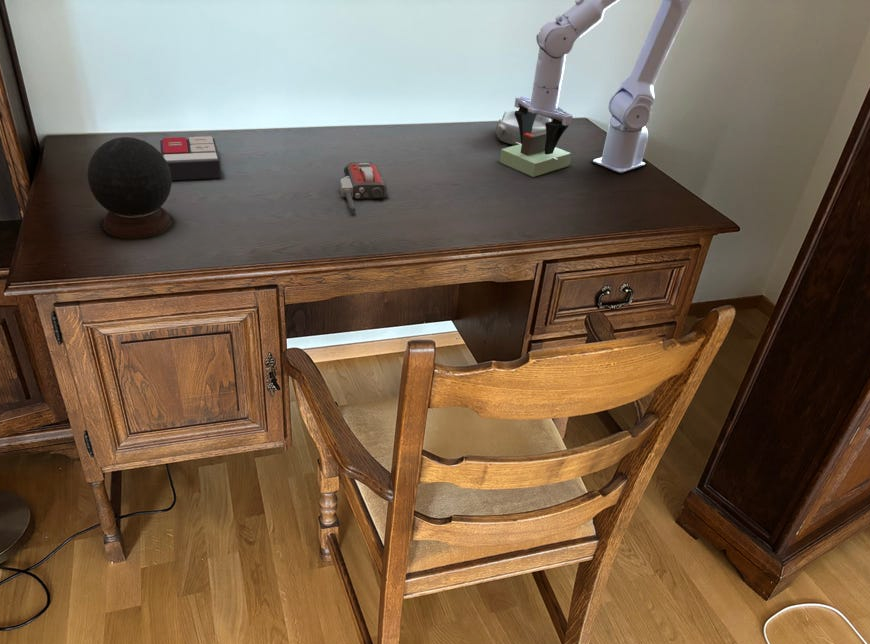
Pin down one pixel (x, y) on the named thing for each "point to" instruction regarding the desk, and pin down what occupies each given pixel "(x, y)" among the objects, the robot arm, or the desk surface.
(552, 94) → the robot arm
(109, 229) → the ball on wooden base
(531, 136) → the brown block
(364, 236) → the desk surface
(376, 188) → the walkie-talkie
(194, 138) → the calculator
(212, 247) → the desk surface
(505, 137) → the dish
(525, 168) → the stand
